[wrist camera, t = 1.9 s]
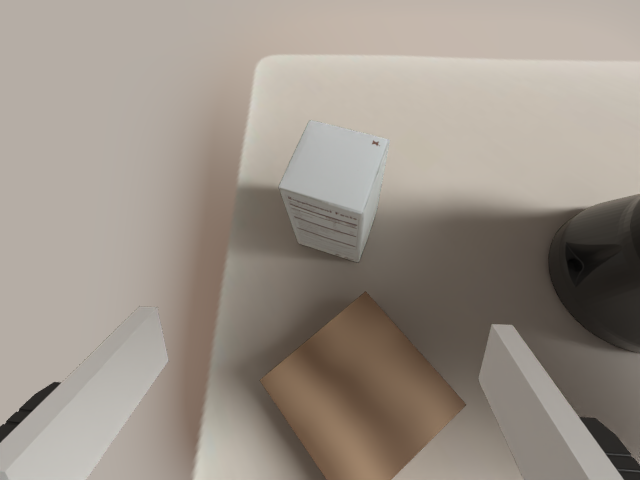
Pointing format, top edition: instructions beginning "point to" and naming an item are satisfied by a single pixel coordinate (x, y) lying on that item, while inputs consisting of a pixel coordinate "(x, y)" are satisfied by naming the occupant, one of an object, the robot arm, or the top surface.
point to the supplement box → (334, 188)
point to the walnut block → (361, 395)
